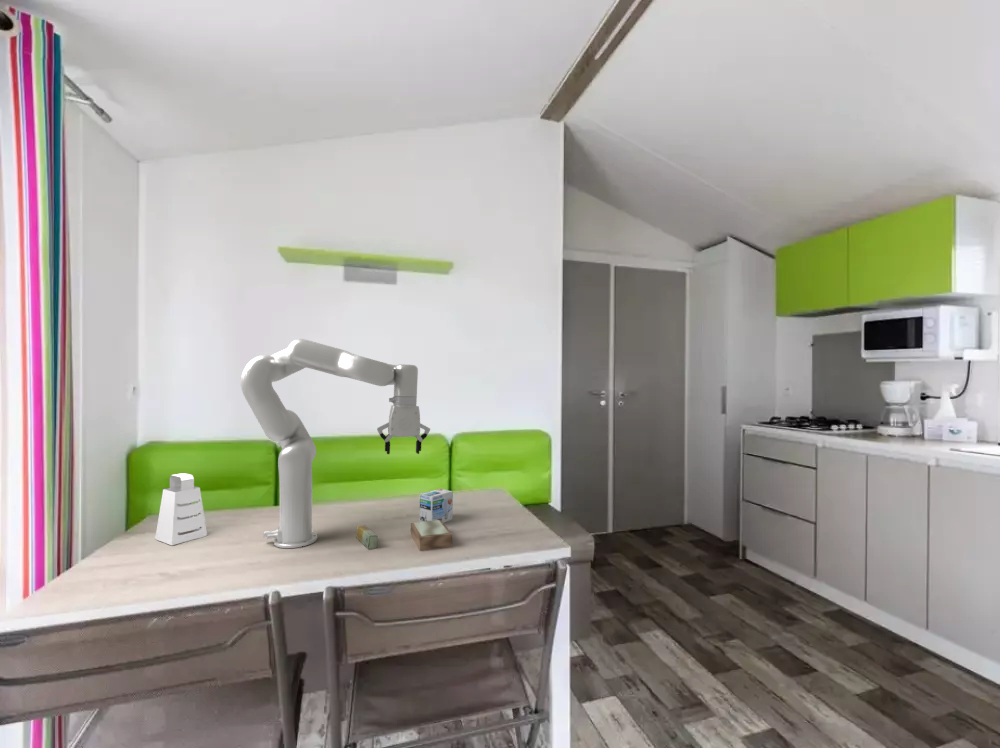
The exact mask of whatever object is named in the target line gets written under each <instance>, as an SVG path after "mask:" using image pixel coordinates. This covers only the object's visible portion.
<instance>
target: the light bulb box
mask: <svg viewBox="0 0 1000 748" xmlns="http://www.w3.org/2000/svg"><path fill="white" fill-rule="evenodd" d="M453 493H454V492H453V491H452V490H448V489H443V488H437V489H434V490H430V491H427V492H422V493H419V522H425V521H434V520H441V521H442V522H443V523H446V522H449V521H451V520H453V502H454V500H453V499H454V498H453V497H454V494H453Z"/></svg>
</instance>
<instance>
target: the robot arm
mask: <svg viewBox="0 0 1000 748" xmlns="http://www.w3.org/2000/svg"><path fill="white" fill-rule="evenodd" d="M305 368H306V369H311V370H315V371H318V372H322V373H325V374H329V375H333V376H337V377H342V378H347V379H348V378H349V379H352V380H355V381H356V380H357V381H360V382H362V383H363V382H364V383H368V384H370V385H375V386H378V387H386V386H391V385H393V397H389V398H388V402H389V403H392V404H393V405H390V410H389V416H388V422H387V423H384V424H383V425H381V426H379V427H377V428H376V430H377V432H378V435H379V437H380V438H381V439H382V440H384V452H386V454H387V455H390V454H391V442H390V440H392V438H393V437H395V438H397V437H398V438H400V437H401V438H402V437H408V438H411V437H412V438H414V437H415V438H416V441H415V453H416V454H417V455H420V452H421V451H422V442H423V441H424V440H425V439H426V438H427V436H428V435H429V432H430V431H431V428H429V427H428V426H426V425H424V424H423V423H421V413H420V406H418V405H417V401H418V399H417V397H418V377H419V376H418V375H419V369H418V367H417V366H416V365H415V364H389V363H387V362H384V361H379V360H377V359H376V360H375V359H372V358H368V357H365V356H362V355H358V354H354V353H352V352H350V351H348V350H344V349H341V348H338V347H334V346H331V345H330V346H329V345H326V344H323V343H319V342H316V341H312V340H309V339H305V338H296V339H295V340H292V341H291V342H290V343H289V345H288V346H287V347H286V348H285V349H283V350H280V351H278V352H276V353H274V354H271V355H269V354H261V355H258V356H256V357H253V358H252V359H251V360H250V361H249V362H247V364H246V365H245V367H244V368H243V370H242V372H241V377H240V387H241V391H242V394H243V396H244V398H245V400H246V402H247V403H248V406H249V407H250V408H251V411H252V413H253V414H254V417H255V419H257V421H258V424H259V425H260V427H261V429H262V430H263V432H264V434H265V436H266V437H267V438H268V439H269V440H270V441H272V442H278V445H279V446H280V447H281V450H280V452H279V454H278V459H277V460H278V461H277V464H278V465H277V467H278V468H277V469H278V479H279V481H278V483H279V484H278V485H279V519H278V520H279V526H278V528H275V529H274V530H265V531H263V538H265V539H267V540H269V539H270V540H271V539H273V545H274V546H275V547H277V548H279V549H280V548H281V549H295V548H303V547H305V546H309V545H312V544H313V543H315V542H316V541H317V540H318V534H317V533H315V532H313V471H312V470H313V469H312V465H313V461H314V459H315V457H316V456H317V447H316V444H315V443H314V441H313V439H312V437H311V435H310V434H309V432H308V430H307V428H306V427H305V425H304V423H303V422H302V420H301V418H300V417H299V415H298V414H297V413H296V412H294V411H293V410H290V409H287V408H286V407H285V404H283V401H282V400H281V398H280V396H279V395H278V393H277V392H276V390H275V389H274V387H273V383H275V382H278V381H281V380H283V379H285V378H287V377H289V376H291V375H293V374H295V373H298V372H300V371H301V370H304V369H305ZM386 429H387V431H388V434H386V435H385V433H384V432H383V431H384V430H386ZM421 430H424V431H423V433H422V434H421ZM420 434H421V435H420ZM302 546H303V547H302Z"/></svg>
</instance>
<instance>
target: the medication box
mask: <svg viewBox="0 0 1000 748" xmlns="http://www.w3.org/2000/svg"><path fill="white" fill-rule="evenodd" d="M378 537H379V536H378V534H376V533H375V532H374V531H373V530H371V528H369V527H368V526H366V524H363V525H362V524H361V525H357V527H356V535H355V538H356V539H357V540H358V541H359V542H360V543H361V544H362V545H363V546H364V547H366V549H367V550H374V549H376V548H377V544H378Z"/></svg>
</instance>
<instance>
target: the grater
mask: <svg viewBox="0 0 1000 748" xmlns="http://www.w3.org/2000/svg"><path fill="white" fill-rule="evenodd" d="M202 498H203V497H202V492H201V487H199V486H195V478H194V476H193V474H190V473H184V472H183V473H181V472H180V473H177V474H176V473H175V474H171V475H170V477H169V488H167V487H166V488H163V489H162V495H161V500H160V507H159V515H158V518H157V519H158V520H157V525H156V526H157V527H156V531H155V537H154V540H156V541H159V542H161V543H163V544H168V545H170V546H174V545H178V544H182V543H185V542H188V541H193V540H196V539H200V538H203V537H207V536H208V531H207V525H206V518H205V512H204V506H203V505H204V504H203V501H202V500H203V499H202ZM190 531H192V532H190ZM186 532H189V533H186ZM182 533H183V534H182ZM184 533H185V534H184Z"/></svg>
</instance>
